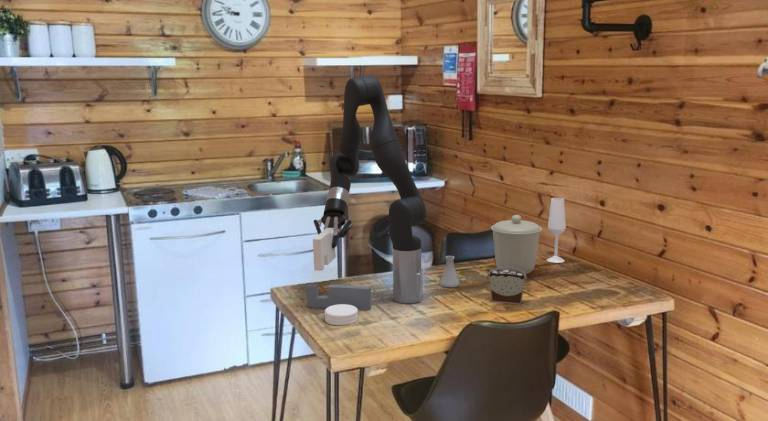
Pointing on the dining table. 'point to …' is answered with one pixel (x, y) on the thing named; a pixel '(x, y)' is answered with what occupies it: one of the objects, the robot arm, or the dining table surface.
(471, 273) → the dining table surface
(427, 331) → the dining table surface
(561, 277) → the dining table surface
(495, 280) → the food container
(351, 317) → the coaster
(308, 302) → the grey slotted plate
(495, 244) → the canister
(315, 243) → the white slotted plate
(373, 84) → the robot arm
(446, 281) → the flask
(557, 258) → the champagne flute
